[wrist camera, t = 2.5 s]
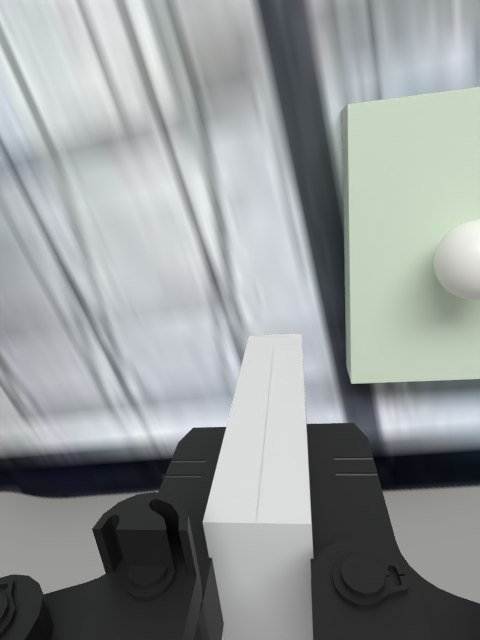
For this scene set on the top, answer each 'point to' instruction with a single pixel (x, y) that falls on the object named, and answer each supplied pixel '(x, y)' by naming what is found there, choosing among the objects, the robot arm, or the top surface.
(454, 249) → the ball
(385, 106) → the green
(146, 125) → the top surface
